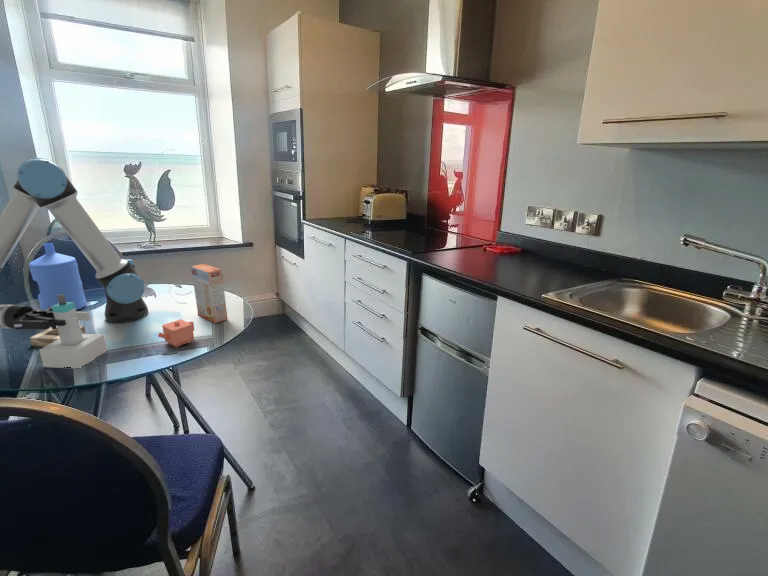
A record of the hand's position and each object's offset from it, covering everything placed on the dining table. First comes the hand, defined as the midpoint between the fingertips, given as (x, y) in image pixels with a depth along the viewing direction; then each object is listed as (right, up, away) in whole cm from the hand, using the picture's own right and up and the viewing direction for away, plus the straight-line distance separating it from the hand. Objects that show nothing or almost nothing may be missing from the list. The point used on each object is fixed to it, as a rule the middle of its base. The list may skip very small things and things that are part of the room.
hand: (82, 319), depth 131 cm
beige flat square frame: (-21, -9, +18) cm, 30 cm away
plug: (-5, -9, +4) cm, 11 cm away
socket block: (-5, -13, +5) cm, 15 cm away
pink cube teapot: (+22, -10, +15) cm, 29 cm away
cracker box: (+25, -2, +38) cm, 46 cm away
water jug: (-42, +1, +48) cm, 64 cm away
